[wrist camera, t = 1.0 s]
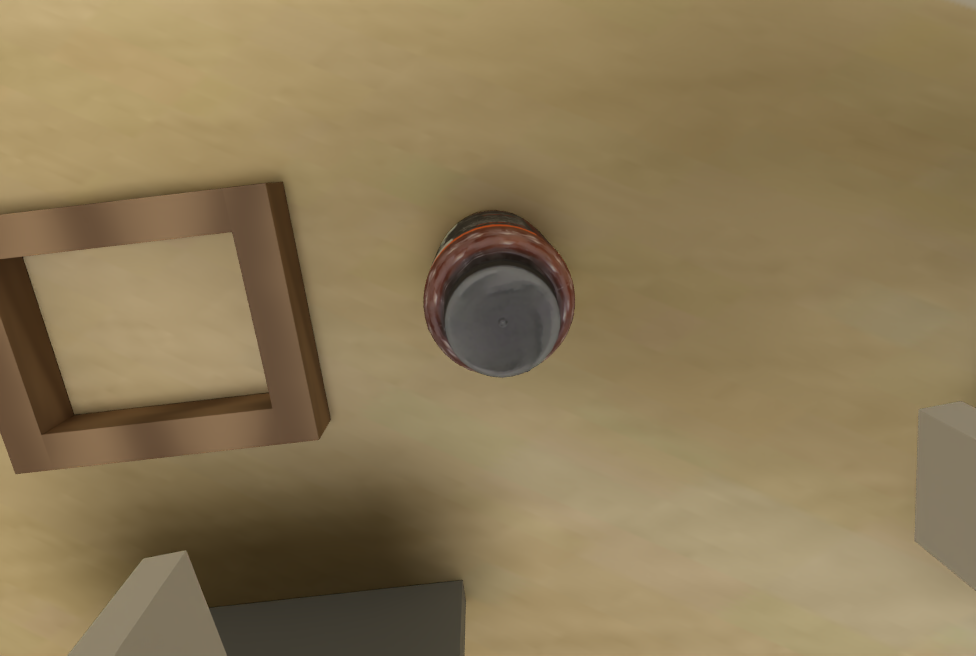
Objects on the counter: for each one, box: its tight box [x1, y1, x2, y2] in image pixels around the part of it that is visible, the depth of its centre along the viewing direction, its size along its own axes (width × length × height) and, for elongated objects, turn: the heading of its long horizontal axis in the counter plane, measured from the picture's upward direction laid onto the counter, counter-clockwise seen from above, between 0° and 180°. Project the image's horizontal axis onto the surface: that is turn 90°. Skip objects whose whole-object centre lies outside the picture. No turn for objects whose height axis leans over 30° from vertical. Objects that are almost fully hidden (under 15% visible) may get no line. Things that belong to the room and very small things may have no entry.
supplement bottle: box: [424, 211, 575, 378], centre depth 25 cm, size 6×6×11 cm
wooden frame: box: [0, 182, 331, 474], centre depth 30 cm, size 16×13×2 cm
